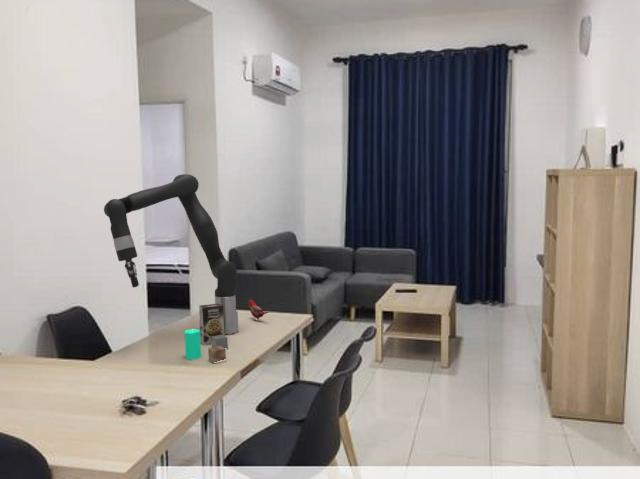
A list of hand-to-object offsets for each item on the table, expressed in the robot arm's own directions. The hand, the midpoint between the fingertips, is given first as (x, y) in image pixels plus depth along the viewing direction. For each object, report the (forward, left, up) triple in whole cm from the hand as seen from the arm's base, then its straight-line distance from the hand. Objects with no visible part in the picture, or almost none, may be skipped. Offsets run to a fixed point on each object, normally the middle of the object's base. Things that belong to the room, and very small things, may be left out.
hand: (136, 286), depth 232 cm
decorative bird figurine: (-62, -16, -27) cm, 70 cm away
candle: (-16, +21, -27) cm, 38 cm away
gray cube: (-29, +16, -27) cm, 42 cm away
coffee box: (-30, +5, -27) cm, 41 cm away
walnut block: (-22, +31, -27) cm, 46 cm away
